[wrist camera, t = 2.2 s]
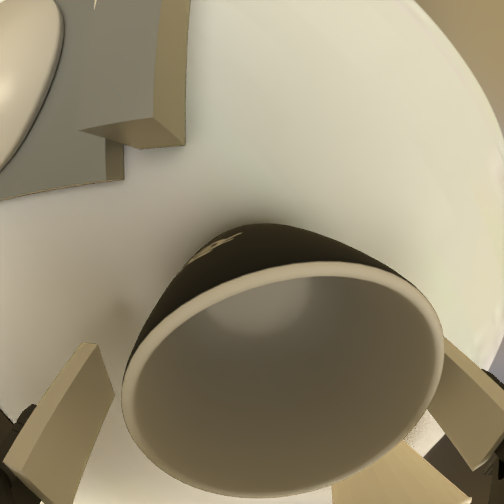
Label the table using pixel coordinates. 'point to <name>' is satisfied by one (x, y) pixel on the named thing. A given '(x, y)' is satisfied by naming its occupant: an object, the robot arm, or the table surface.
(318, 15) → the table surface
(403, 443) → the cup
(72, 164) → the scale
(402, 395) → the mug
